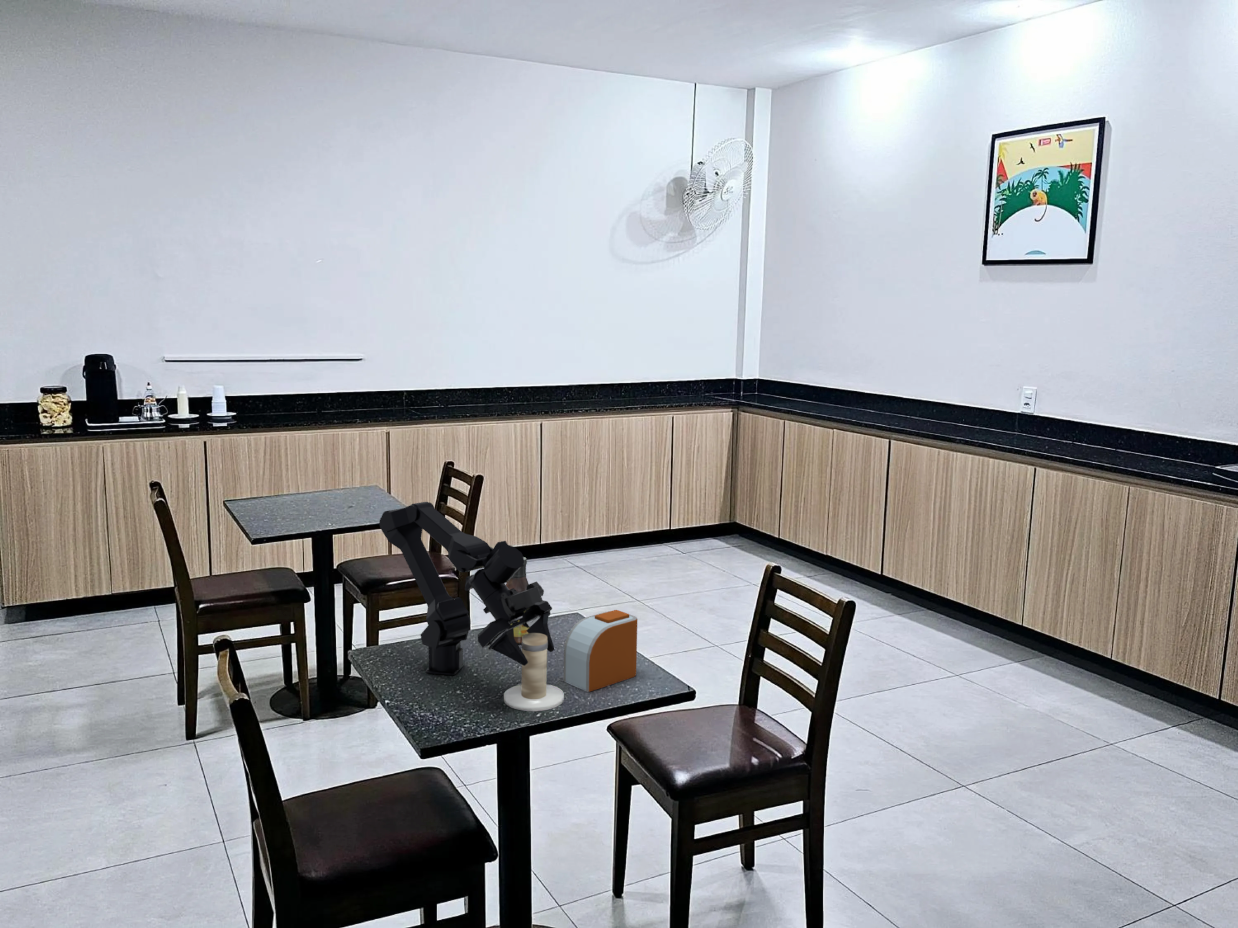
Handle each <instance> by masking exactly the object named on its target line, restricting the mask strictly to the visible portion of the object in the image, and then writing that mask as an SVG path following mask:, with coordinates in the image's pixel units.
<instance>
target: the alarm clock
mask: <svg viewBox="0 0 1238 928" xmlns="http://www.w3.org/2000/svg"><path fill="white" fill-rule="evenodd" d="M563 646H564V648H563V674H562V676H563V677H562V678H563V680H562V681H563V683H566V684H568V685H570V686H573V687H575V688H577V689H580V690H582V691H584V692H587V693H590V692H594V691H596V690H599V689H602V688H604V687H605V688H606V687H609V686H611V685H614V684H617V683H620V682H624V681H625V680H628V679H633V678H635V677H636V675H637V661H638V660H637V657H638V653H637V652H638V617H637V616H636V615H632V614H629V613H627V612H624V611H621V610H618V609H614V610H608V611H605V612H601V613H598V614H593V615H589V616H586V617H584V618H582V619H580V620H578V621H577V622H576V623H575V624H574V625H573V626H572V627H571V629H570V630H569V633H568V634H567V636H566V639H565V641H564V645H563Z"/></svg>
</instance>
